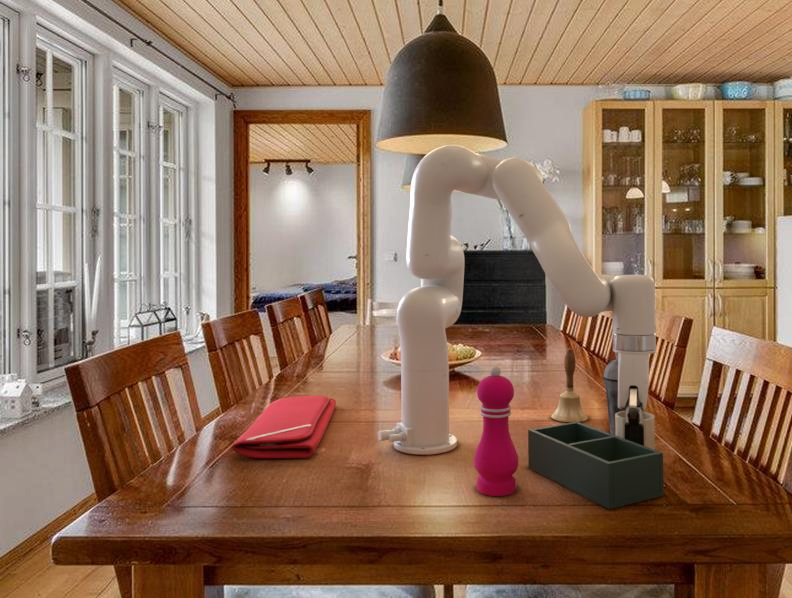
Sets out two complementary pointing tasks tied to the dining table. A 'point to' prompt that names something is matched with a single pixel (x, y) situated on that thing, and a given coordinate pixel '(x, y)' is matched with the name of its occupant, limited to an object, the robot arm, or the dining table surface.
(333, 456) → the dining table surface
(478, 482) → the pepper mill
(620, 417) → the cup
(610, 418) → the beverage cup
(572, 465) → the storage box
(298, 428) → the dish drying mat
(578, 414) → the hand bell
